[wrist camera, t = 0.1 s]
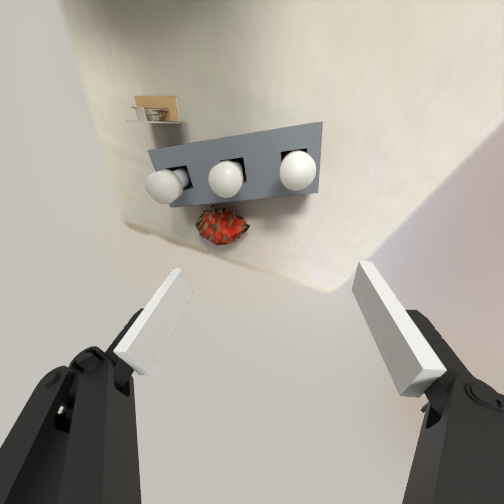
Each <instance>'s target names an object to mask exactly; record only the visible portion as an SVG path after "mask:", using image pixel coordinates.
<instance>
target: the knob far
mask: <svg viewBox="0 0 504 504" xmlns="http://www.w3.org/2000/svg"><path fill="white" fill-rule="evenodd" d="M190 182H191V178H190V175H189V172H188V171H187V170H186V169H183V168H180V169H177V170H175V171H173V172H172V171H170V170H166V169H163V170H160V171H157V172H154V173H152V174H150V175H149V176H148V177H147V178H146V189H147V191H148V193H149V195H150V196H151V197H152V198H153V199H154V200H155V201H157V202H159V203H161V204H169V203H172V202H173V201H174V200H176V199H177V198H178V197H180V196H181V194H182V192H183V188H184V187H185V186H187V185H189V184H190Z"/></svg>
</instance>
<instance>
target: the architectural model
mask: <svg viewBox="0 0 504 504" xmlns="http://www.w3.org/2000/svg"><path fill="white" fill-rule="evenodd" d="M135 100H136V104H137V107H131V108H135V109H136V112H137V116H138V120H139V121H129V120H126V122H137V123H175V124H181V122H163V121H180V117H179V111H178V105H177V99H176V97H175V96H135ZM147 109H161V110H152V111H157V112H158V114H155V115H159V119H160V120H159V121H152V119H151V114H150V110H147ZM166 109H168V110H166Z"/></svg>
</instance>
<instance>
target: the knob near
mask: <svg viewBox="0 0 504 504" xmlns="http://www.w3.org/2000/svg"><path fill="white" fill-rule="evenodd" d="M315 174H316V165H315V162H314V160H313V159H312V158H311V157H310V156H309V155H308V154H307V153H306V152H303V151H293V152H291V153H289V154H287V155H286V156H285V157H284V159H283V160H282V162H281V165H280V179H281V182H282V183H283V185H284V186H285V187H286V188H288V189H290V190H294V191H298V190H302V189H304V188H306V187H307V186H309V185H310V184H311V182H312V181H313V179H314V177H315Z"/></svg>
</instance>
